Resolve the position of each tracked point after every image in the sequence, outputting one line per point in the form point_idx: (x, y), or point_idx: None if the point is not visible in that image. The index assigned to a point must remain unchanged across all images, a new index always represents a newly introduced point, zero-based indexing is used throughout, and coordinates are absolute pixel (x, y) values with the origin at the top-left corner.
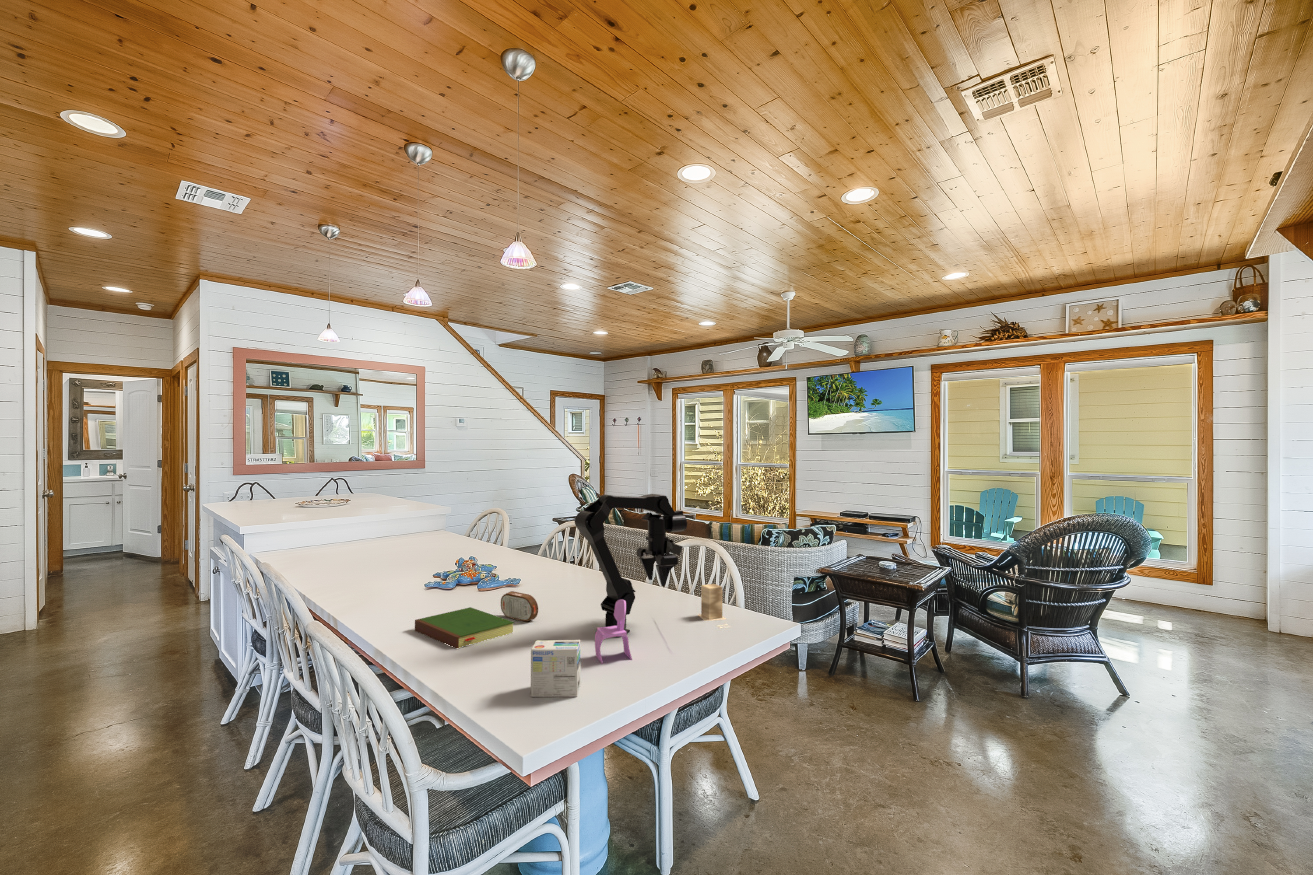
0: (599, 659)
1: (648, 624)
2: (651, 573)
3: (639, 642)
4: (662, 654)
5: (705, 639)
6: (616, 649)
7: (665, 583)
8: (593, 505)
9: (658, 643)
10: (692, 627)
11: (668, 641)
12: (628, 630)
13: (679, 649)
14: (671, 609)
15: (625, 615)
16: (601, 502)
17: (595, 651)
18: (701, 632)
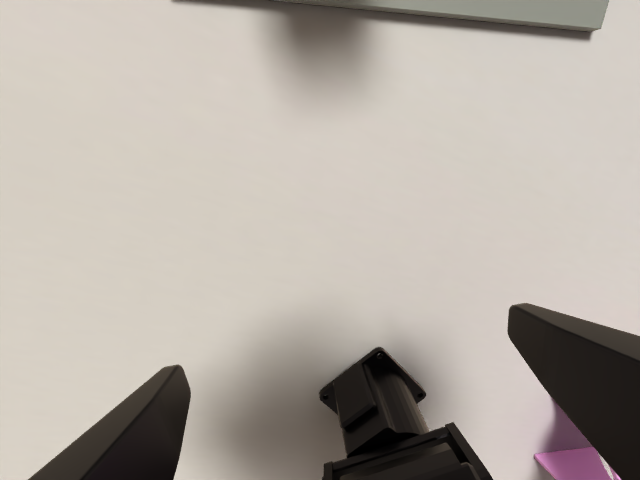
0: (574, 455)
1: (308, 256)
2: (147, 441)
3: (498, 337)
4: (635, 295)
5: (604, 72)
6: (520, 407)
7: (553, 314)
8: None
9: (540, 280)
10: (425, 58)
11: (541, 239)
12: (384, 356)
13: (633, 227)
14: (40, 38)
15: (385, 409)
16: None
17: (548, 470)
18: (514, 45)
